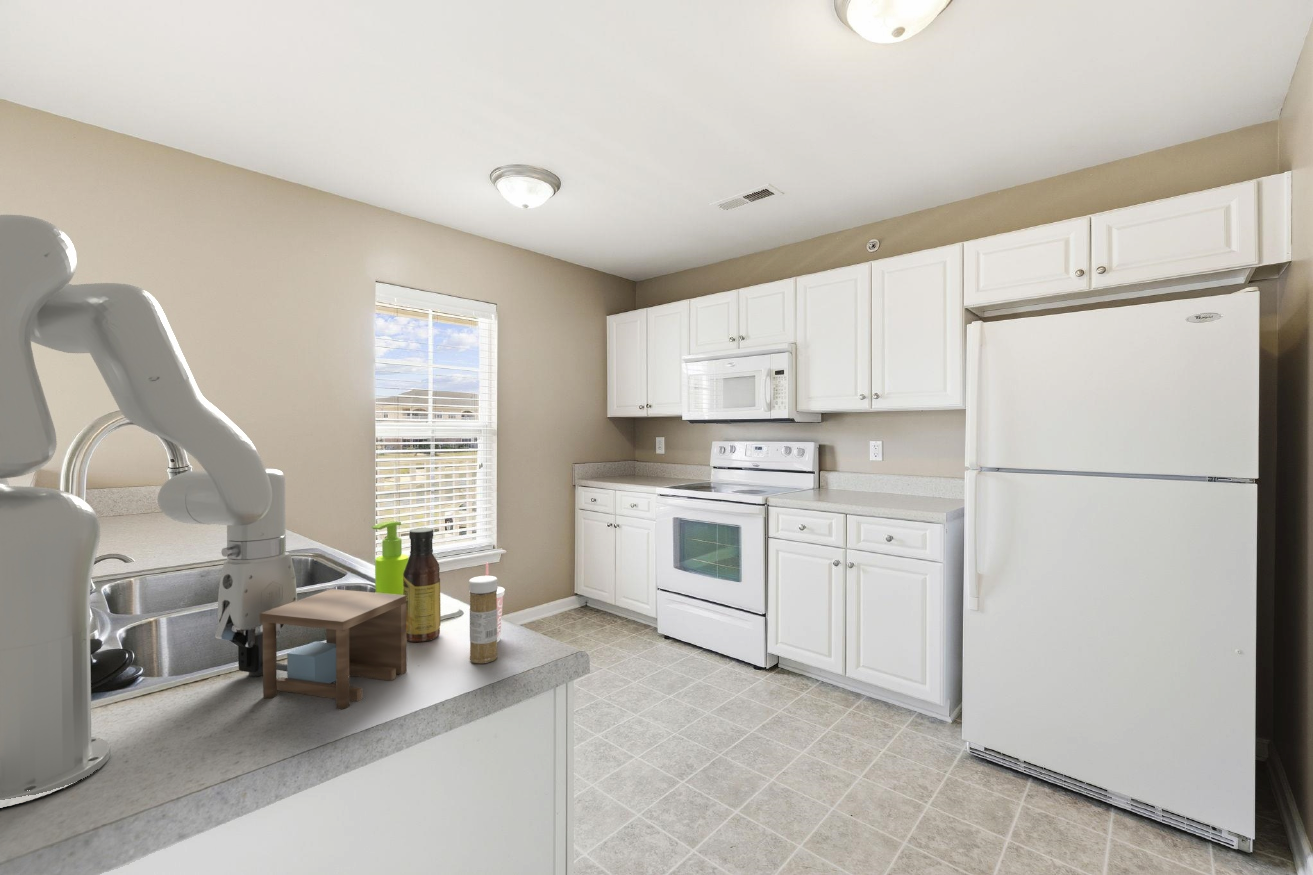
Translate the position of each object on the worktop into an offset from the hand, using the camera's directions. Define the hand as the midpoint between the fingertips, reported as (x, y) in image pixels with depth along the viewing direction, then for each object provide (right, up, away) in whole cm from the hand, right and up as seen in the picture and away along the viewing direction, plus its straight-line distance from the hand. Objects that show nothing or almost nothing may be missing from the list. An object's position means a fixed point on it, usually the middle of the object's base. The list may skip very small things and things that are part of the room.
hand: (257, 665), depth 92 cm
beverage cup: (+31, -1, +15) cm, 35 cm away
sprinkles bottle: (+33, -1, +6) cm, 34 cm away
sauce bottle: (+19, -1, +16) cm, 25 cm away
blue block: (+6, -1, -2) cm, 6 cm away
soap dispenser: (+11, -1, +22) cm, 25 cm away
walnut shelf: (+14, -1, -4) cm, 15 cm away
